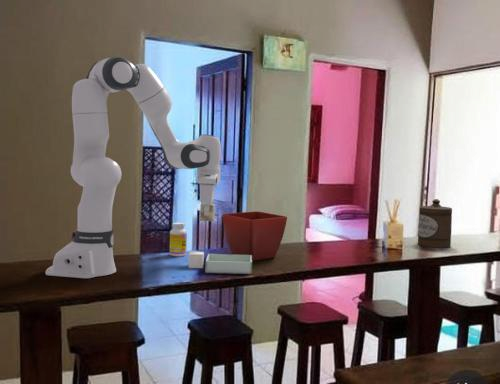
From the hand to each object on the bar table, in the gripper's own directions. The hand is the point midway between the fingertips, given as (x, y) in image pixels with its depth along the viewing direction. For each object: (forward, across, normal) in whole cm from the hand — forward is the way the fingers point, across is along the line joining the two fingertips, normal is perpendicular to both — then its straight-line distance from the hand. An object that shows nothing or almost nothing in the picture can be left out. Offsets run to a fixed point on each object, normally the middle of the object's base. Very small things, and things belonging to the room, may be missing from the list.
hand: (207, 214), depth 200 cm
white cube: (+18, +11, -3) cm, 21 cm away
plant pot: (+18, -9, +18) cm, 27 cm away
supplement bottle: (+18, -8, -12) cm, 23 cm away
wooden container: (+16, -49, +105) cm, 117 cm away
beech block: (+2, 0, 0) cm, 2 cm away
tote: (+18, +14, +9) cm, 24 cm away
